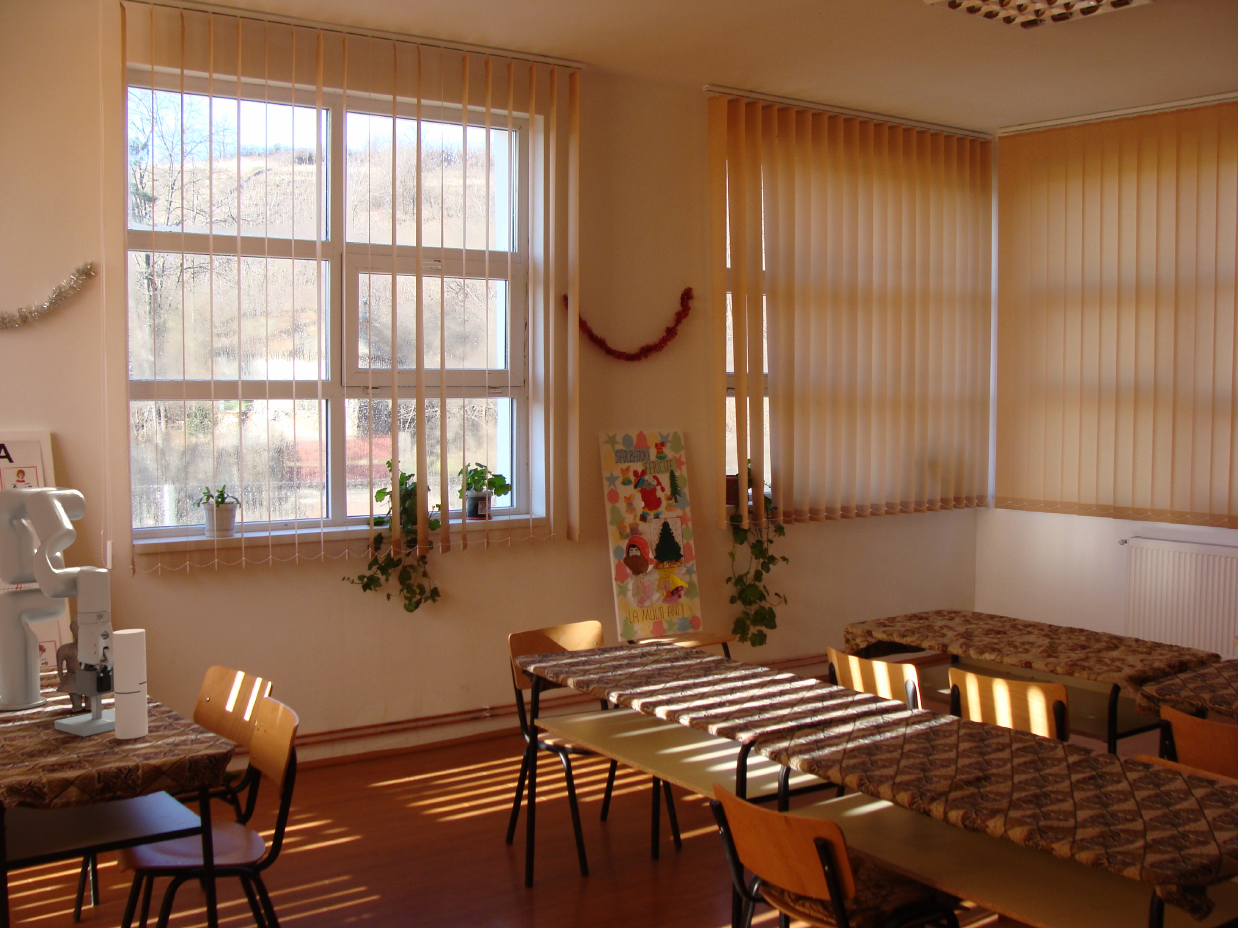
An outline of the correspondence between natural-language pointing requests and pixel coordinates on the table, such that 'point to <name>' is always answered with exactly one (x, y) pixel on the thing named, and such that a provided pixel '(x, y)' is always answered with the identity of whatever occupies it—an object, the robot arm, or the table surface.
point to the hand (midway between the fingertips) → (96, 689)
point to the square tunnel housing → (90, 682)
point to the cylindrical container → (130, 683)
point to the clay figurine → (71, 670)
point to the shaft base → (89, 720)
